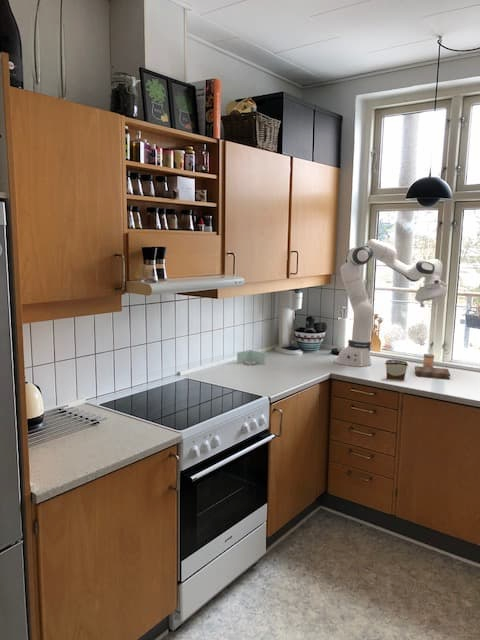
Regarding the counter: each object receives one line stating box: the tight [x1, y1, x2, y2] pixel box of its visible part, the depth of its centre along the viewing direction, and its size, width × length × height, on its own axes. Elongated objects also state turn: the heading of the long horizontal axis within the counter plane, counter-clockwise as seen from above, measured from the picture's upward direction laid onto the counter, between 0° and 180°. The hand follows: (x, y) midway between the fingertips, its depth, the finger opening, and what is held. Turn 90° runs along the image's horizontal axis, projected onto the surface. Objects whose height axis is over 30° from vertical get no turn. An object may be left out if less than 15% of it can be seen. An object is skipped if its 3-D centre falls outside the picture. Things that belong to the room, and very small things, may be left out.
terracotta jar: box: [422, 353, 435, 368], centre depth 306 cm, size 6×6×9 cm
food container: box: [384, 359, 409, 381], centre depth 282 cm, size 12×6×10 cm, turn 84°
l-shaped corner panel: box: [236, 349, 267, 366], centre depth 305 cm, size 12×12×8 cm
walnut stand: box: [414, 365, 451, 380], centre depth 293 cm, size 18×13×3 cm
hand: (428, 306), depth 306 cm, fingers open, 8 cm apart
